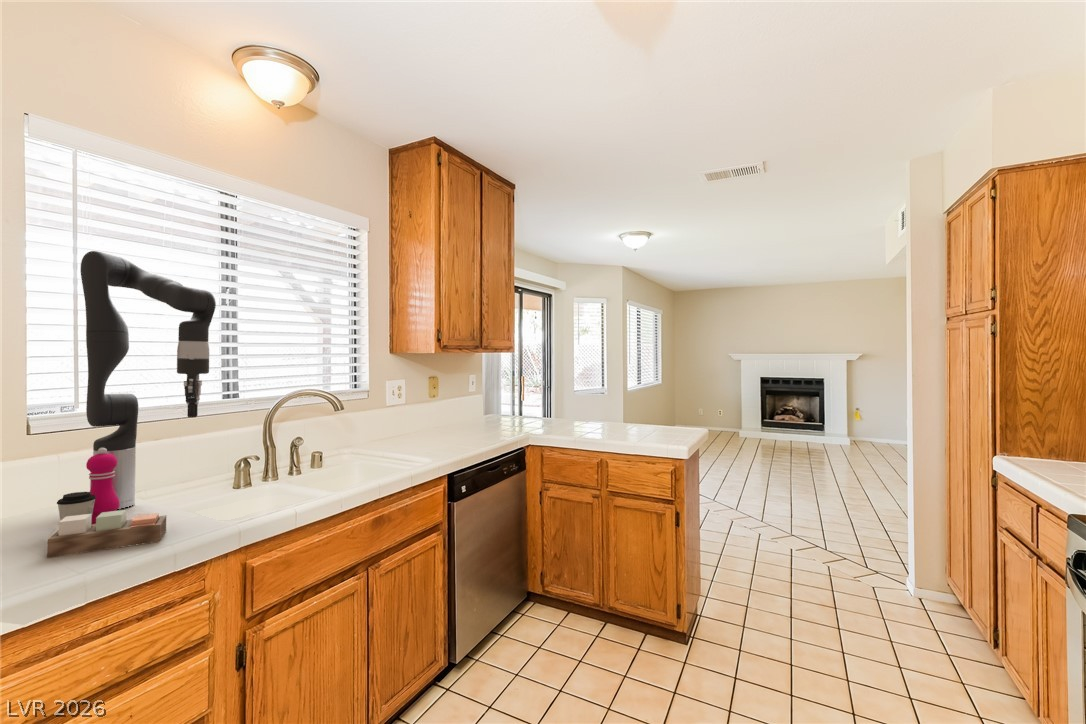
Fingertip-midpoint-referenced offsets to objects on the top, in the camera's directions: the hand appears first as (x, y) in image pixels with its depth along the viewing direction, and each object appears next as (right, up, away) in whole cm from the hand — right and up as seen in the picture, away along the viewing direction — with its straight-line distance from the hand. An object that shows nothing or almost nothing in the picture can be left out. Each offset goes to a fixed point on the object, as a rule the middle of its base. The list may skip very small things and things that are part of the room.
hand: (192, 417), depth 137 cm
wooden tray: (0, -27, -25) cm, 37 cm away
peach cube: (+5, -26, -22) cm, 35 cm away
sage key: (0, -24, -25) cm, 35 cm away
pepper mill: (-15, -27, -12) cm, 33 cm away
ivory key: (-6, -24, -29) cm, 38 cm away
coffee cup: (-14, -27, -20) cm, 36 cm away
